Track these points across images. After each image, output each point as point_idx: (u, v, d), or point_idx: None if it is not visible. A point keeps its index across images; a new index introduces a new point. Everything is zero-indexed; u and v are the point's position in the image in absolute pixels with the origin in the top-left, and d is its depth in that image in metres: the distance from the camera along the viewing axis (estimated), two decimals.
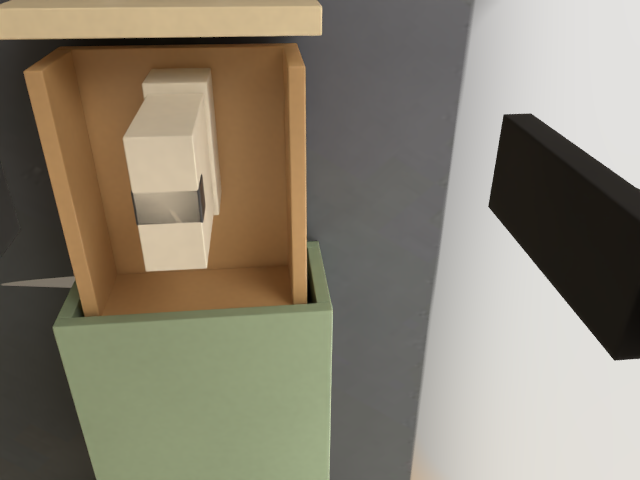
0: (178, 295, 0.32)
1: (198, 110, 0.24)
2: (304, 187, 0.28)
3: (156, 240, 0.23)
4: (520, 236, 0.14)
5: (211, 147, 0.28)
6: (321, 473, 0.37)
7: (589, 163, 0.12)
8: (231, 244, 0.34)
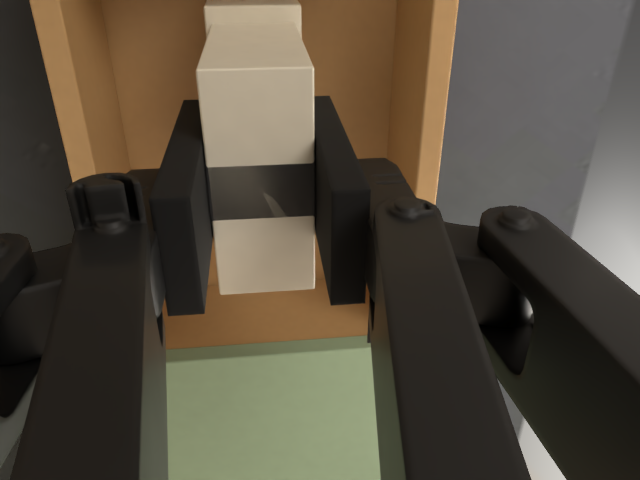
0: (239, 319, 0.24)
1: (301, 39, 0.15)
2: (438, 165, 0.19)
3: (239, 245, 0.15)
4: None
5: None
6: None
7: (337, 135, 0.13)
8: None
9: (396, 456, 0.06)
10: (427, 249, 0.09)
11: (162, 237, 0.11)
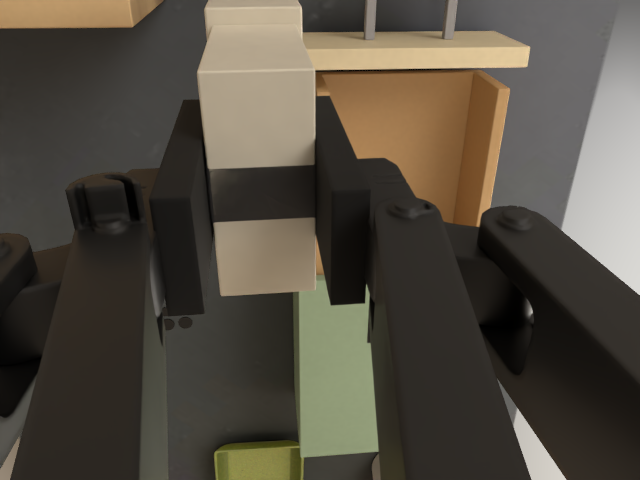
0: None
1: (302, 40, 0.15)
2: (494, 177, 0.38)
3: (241, 247, 0.15)
4: None
5: None
6: None
7: (337, 135, 0.13)
8: None
9: (396, 456, 0.06)
10: (427, 248, 0.09)
11: (162, 237, 0.11)
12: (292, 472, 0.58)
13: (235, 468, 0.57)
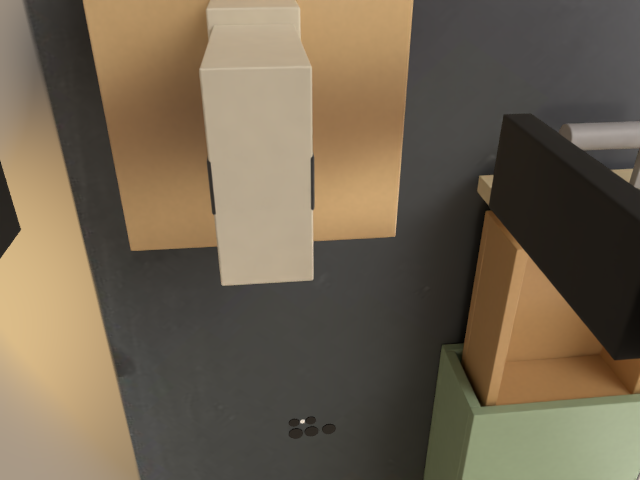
0: (537, 384, 0.43)
1: (299, 40, 0.16)
2: None
3: (240, 237, 0.15)
4: (520, 236, 0.14)
5: None
6: None
7: (590, 163, 0.12)
8: (563, 341, 0.44)
9: None
10: None
11: None
12: None
13: None
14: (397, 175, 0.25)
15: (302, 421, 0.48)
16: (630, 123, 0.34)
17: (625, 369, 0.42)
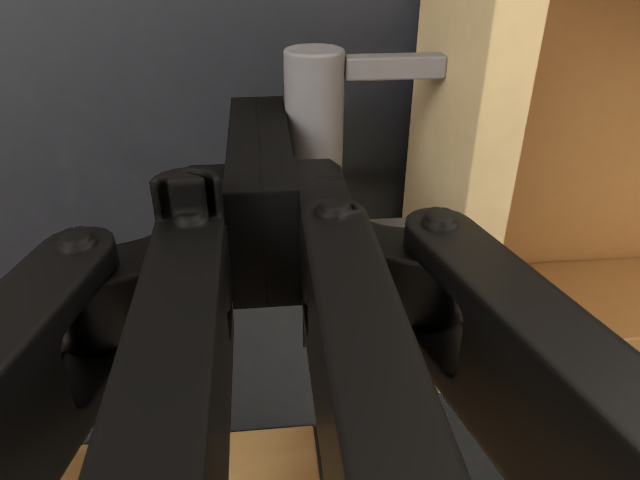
0: None
1: None
2: None
3: None
4: None
5: None
6: None
7: (280, 136, 0.13)
8: None
9: (336, 464, 0.06)
10: (356, 249, 0.09)
11: (233, 231, 0.11)
12: None
13: None
14: None
15: None
16: None
17: None
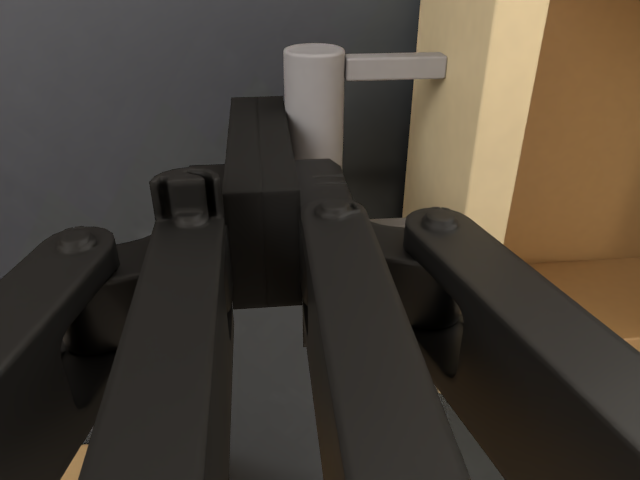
0: None
1: None
2: None
3: None
4: None
5: None
6: None
7: (280, 136, 0.13)
8: None
9: (336, 464, 0.06)
10: (355, 248, 0.09)
11: (232, 231, 0.11)
12: None
13: None
14: None
15: None
16: None
17: None
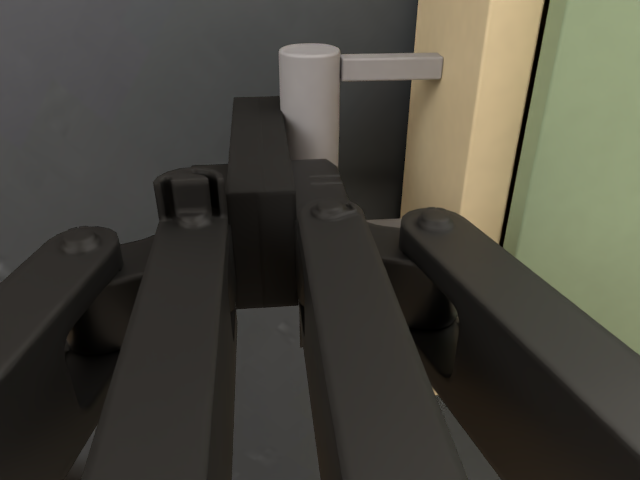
0: None
1: None
2: None
3: None
4: None
5: None
6: None
7: (276, 136, 0.13)
8: None
9: (333, 464, 0.06)
10: (352, 249, 0.09)
11: (236, 231, 0.11)
12: None
13: None
14: None
15: None
16: None
17: None
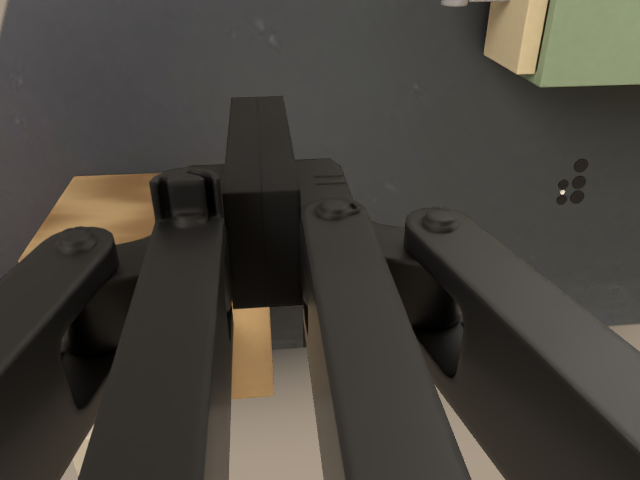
0: None
1: None
2: None
3: None
4: None
5: None
6: None
7: (280, 135, 0.13)
8: None
9: (337, 464, 0.06)
10: (356, 249, 0.09)
11: (232, 231, 0.11)
12: None
13: None
14: None
15: (562, 192, 0.47)
16: None
17: None
